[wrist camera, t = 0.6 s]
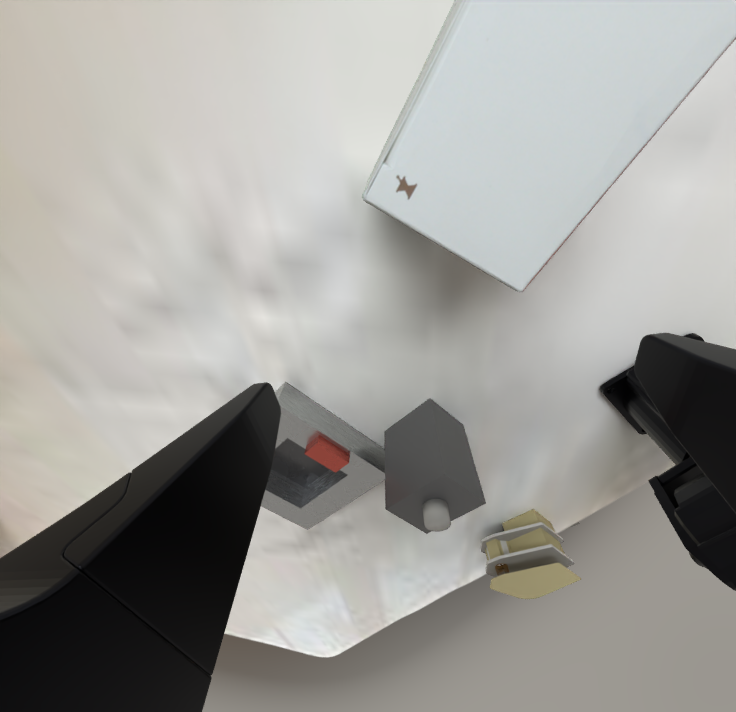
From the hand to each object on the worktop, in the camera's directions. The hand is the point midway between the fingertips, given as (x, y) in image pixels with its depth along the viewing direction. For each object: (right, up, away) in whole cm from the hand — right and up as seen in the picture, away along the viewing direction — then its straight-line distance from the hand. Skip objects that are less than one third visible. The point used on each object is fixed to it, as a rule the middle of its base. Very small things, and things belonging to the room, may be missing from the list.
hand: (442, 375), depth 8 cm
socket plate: (-8, -8, +21) cm, 24 cm away
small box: (+3, +12, +8) cm, 15 cm away
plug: (+3, -5, +19) cm, 20 cm away
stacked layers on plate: (+13, -17, +27) cm, 34 cm away
